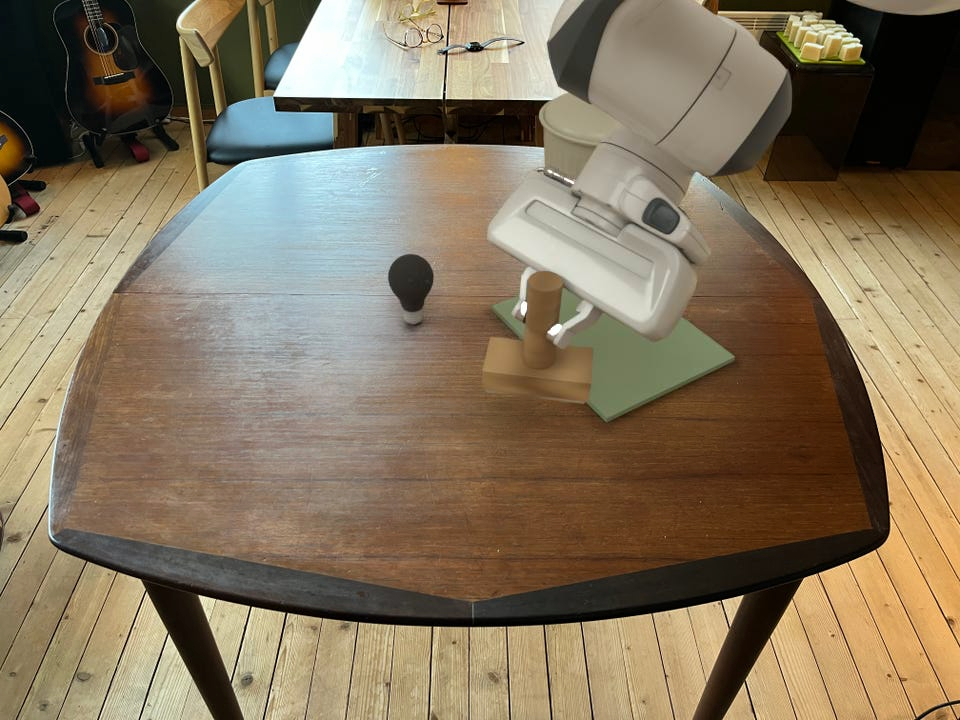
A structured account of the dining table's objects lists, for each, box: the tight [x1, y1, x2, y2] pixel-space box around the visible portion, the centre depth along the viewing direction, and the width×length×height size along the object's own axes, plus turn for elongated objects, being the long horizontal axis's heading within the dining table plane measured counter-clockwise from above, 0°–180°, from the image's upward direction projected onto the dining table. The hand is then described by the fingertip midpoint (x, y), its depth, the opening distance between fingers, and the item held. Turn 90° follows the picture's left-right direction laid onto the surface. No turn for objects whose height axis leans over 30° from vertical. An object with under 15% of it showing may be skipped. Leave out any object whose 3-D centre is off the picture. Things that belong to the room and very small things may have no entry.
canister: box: [538, 92, 618, 183], centre depth 108 cm, size 18×18×21 cm
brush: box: [481, 271, 594, 405], centre depth 67 cm, size 10×5×12 cm, turn 81°
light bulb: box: [387, 253, 435, 325], centre depth 92 cm, size 6×6×10 cm
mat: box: [491, 288, 736, 423], centre depth 93 cm, size 24×20×1 cm
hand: (536, 332), depth 66 cm, fingers closed on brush, 3 cm apart
